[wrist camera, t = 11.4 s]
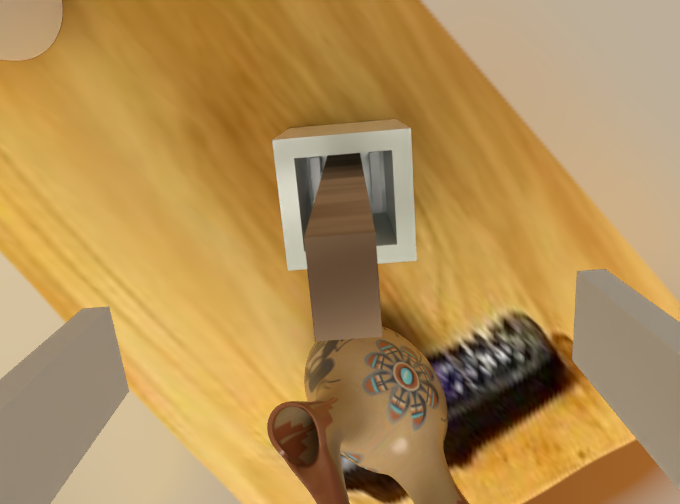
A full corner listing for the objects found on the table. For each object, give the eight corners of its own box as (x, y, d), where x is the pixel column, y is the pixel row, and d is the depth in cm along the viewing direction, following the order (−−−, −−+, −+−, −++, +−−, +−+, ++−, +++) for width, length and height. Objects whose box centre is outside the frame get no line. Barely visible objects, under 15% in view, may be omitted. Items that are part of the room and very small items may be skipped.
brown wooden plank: (327, 154, 41) (303, 237, 18) (359, 152, 41) (375, 232, 18) (332, 204, 43) (315, 341, 20) (363, 202, 42) (382, 336, 20)
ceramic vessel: (474, 367, 48) (602, 649, 24) (410, 435, 50) (469, 753, 26) (329, 262, 45) (310, 461, 21) (268, 338, 47) (188, 596, 23)
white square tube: (289, 128, 42) (272, 140, 32) (396, 118, 41) (410, 128, 32) (300, 230, 44) (287, 270, 35) (401, 222, 44) (416, 260, 34)
